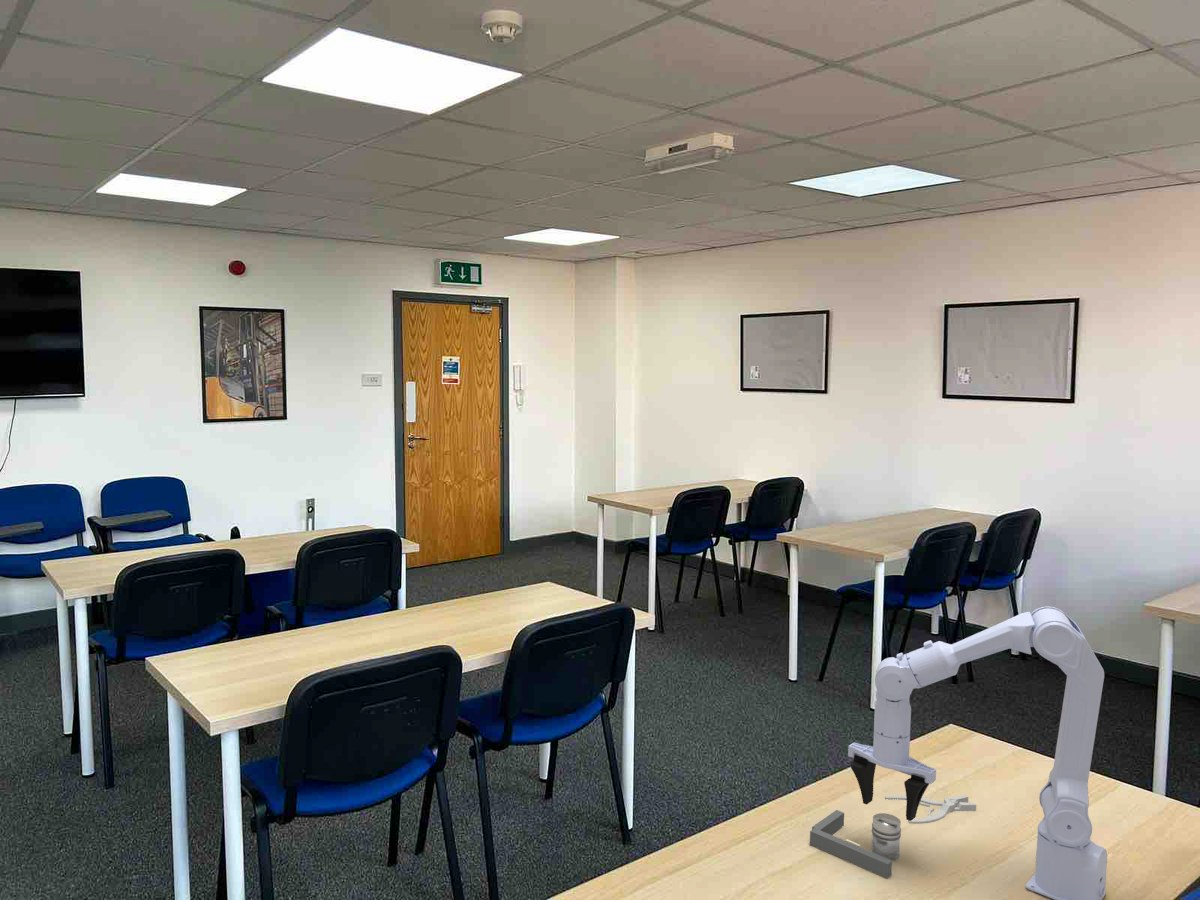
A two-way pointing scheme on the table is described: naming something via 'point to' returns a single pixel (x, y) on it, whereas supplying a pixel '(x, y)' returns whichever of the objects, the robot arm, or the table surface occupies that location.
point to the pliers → (947, 806)
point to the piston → (886, 836)
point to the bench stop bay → (847, 846)
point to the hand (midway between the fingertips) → (888, 810)
